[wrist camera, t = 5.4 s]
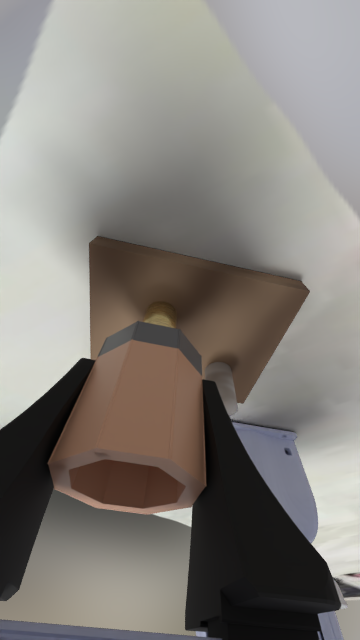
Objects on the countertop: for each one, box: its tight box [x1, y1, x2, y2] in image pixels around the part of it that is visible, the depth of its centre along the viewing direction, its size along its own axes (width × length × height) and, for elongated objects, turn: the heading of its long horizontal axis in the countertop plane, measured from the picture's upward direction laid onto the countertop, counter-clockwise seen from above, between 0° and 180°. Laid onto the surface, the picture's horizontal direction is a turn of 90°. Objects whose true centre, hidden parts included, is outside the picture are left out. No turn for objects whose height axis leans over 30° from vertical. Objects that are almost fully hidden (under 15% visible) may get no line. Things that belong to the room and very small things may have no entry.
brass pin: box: [143, 301, 177, 328], centre depth 16 cm, size 2×2×5 cm
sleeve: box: [47, 321, 207, 514], centre depth 10 cm, size 5×5×6 cm
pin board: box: [89, 236, 310, 416], centre depth 17 cm, size 14×12×5 cm
